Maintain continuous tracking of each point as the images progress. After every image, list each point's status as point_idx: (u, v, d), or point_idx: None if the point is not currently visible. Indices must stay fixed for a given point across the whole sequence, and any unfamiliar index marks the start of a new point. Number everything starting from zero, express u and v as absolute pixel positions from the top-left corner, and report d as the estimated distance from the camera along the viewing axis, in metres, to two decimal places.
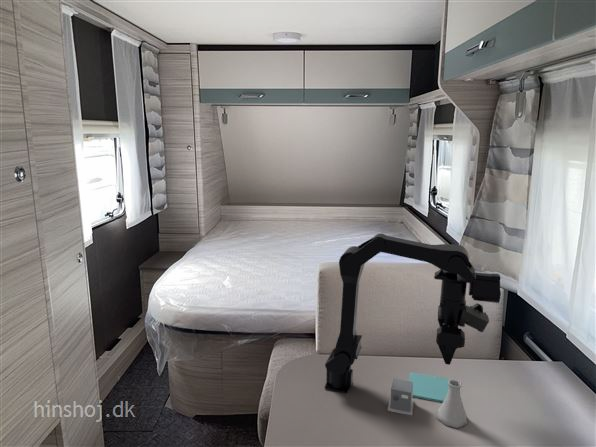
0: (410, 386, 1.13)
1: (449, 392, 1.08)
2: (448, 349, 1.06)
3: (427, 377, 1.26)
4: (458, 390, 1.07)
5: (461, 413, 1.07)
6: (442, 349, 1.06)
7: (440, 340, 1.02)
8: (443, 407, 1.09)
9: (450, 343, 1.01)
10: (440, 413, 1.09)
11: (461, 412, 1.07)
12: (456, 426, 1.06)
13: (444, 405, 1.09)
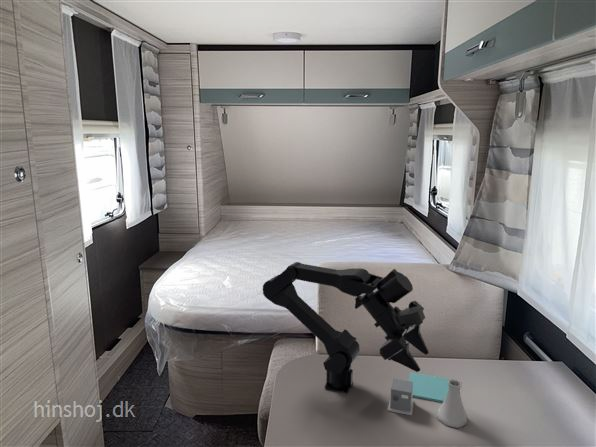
0: (410, 386, 1.13)
1: (449, 392, 1.08)
2: (404, 358, 1.06)
3: (427, 377, 1.26)
4: (458, 390, 1.07)
5: (461, 413, 1.07)
6: (399, 361, 1.07)
7: (384, 356, 1.05)
8: (443, 407, 1.09)
9: (391, 353, 1.04)
10: (440, 413, 1.09)
11: (461, 412, 1.07)
12: (456, 426, 1.06)
13: (444, 405, 1.09)
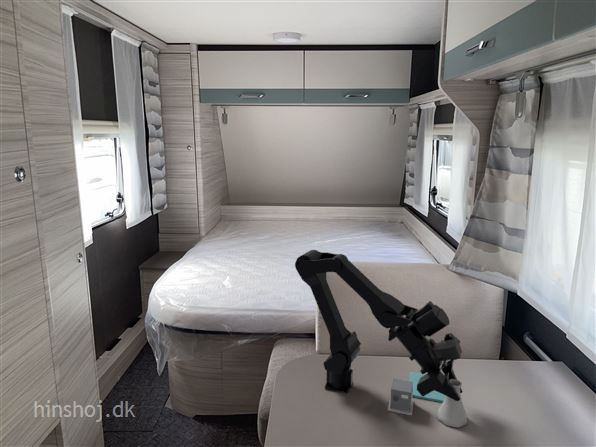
0: (410, 386, 1.13)
1: None
2: (444, 387, 1.06)
3: None
4: (458, 390, 1.07)
5: (461, 413, 1.07)
6: (439, 390, 1.07)
7: (421, 392, 1.02)
8: (443, 407, 1.09)
9: (430, 389, 1.01)
10: (440, 413, 1.09)
11: (461, 412, 1.07)
12: (456, 425, 1.06)
13: (444, 405, 1.09)
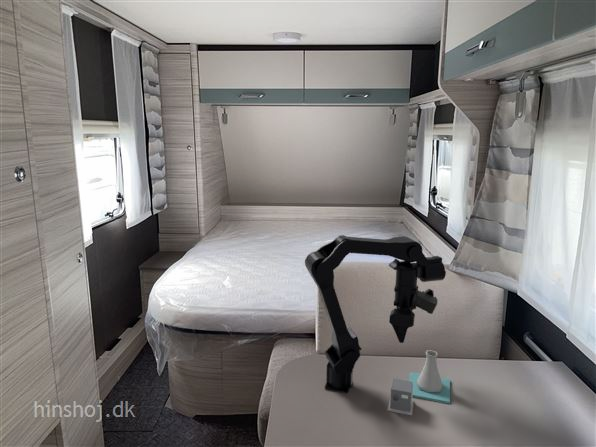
0: (410, 386, 1.13)
1: (428, 362, 1.20)
2: (401, 329, 1.19)
3: None
4: (436, 359, 1.20)
5: (439, 378, 1.21)
6: (395, 328, 1.19)
7: (392, 320, 1.15)
8: (424, 377, 1.20)
9: (401, 323, 1.15)
10: (421, 384, 1.21)
11: (439, 378, 1.21)
12: (437, 390, 1.19)
13: (424, 375, 1.20)
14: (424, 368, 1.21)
